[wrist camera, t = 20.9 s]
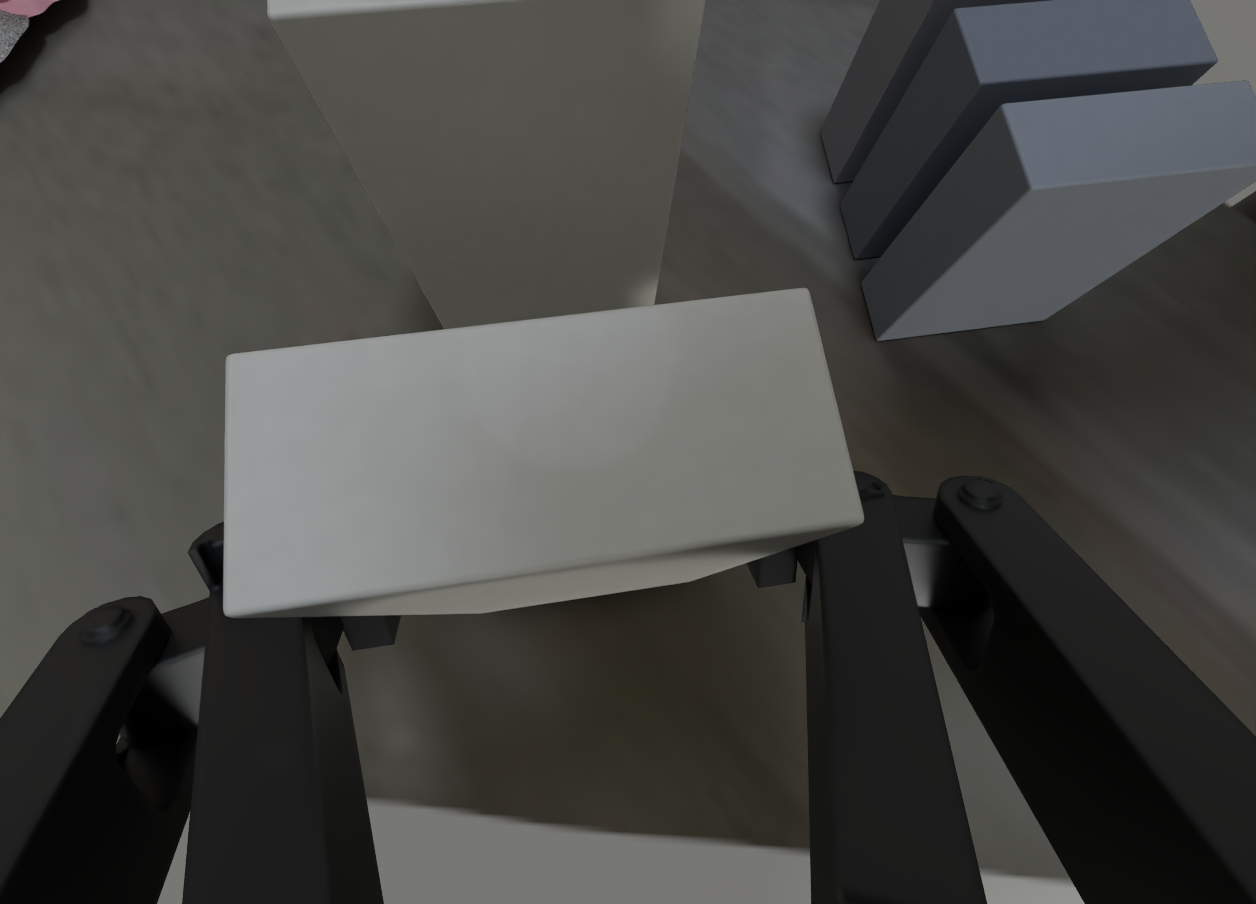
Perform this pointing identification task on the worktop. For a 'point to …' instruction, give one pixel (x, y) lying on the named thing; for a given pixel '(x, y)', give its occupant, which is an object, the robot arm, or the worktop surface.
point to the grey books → (1026, 152)
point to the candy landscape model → (17, 20)
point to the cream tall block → (529, 459)
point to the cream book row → (509, 140)
